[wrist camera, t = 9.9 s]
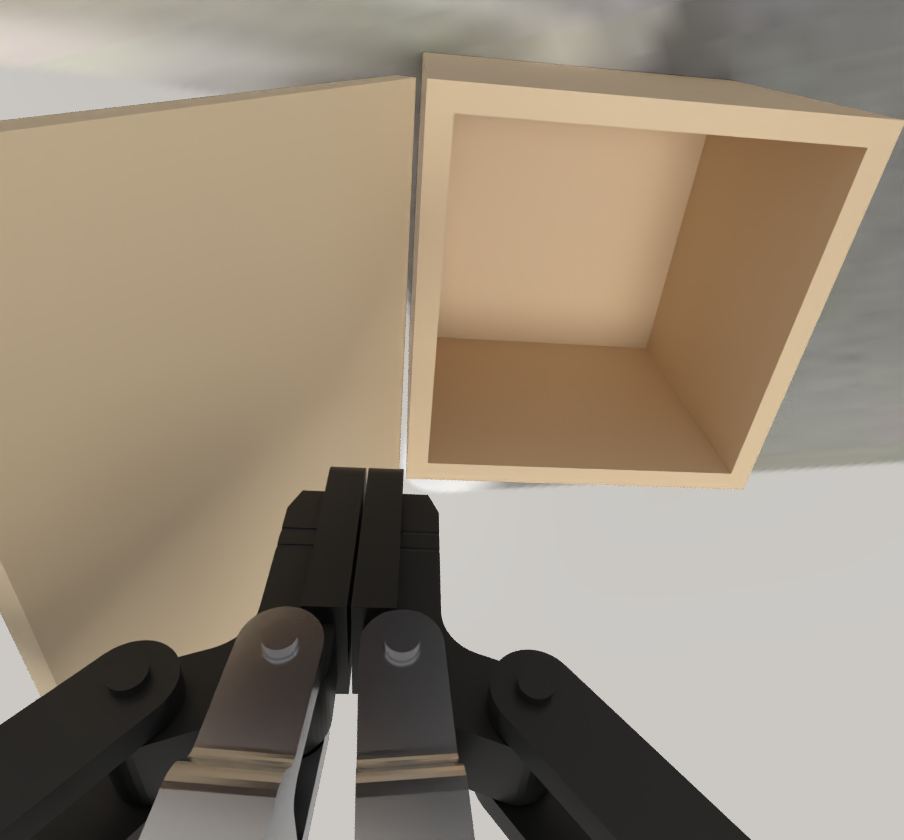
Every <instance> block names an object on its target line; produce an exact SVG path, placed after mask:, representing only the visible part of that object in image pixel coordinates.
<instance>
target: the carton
mask: <svg viewBox="0 0 904 840" xmlns="http://www.w3.org/2000/svg"><path fill="white" fill-rule="evenodd" d="M903 126H904V120H902V119H897V118H893V117H889V116H884V115H880V114H876V113H871V112H867V111H863V110H858V109H854V108H850V107H845V106H841V105H837V104H832V103H828V102H824V101H819V100H815V99H811V98H806V97H802V96H798V95H793V94H789V93H785V92H780V91H776V90H772V89H767V88H763V87H759V86H754V85H750V84H746V83H741V82H737V81H733V80H723V79H712V78H701V77H690V76H679V75H668V74H657V73H646V72H635V71H624V70H614V69H603V68H592V67H581V66H570V65H559V64H548V63H537V62H526V61H515V60H504V59H493V58H482V57H471V56H460V55H449V54H438V53H427V52H423V60H422V81H421V102H420V123H419V144H418V165H417V186H416V207H415V228H414V249H413V270H412V291H411V312H410V333H409V369H408V420H407V470H406V479H436V480H467V481H498V482H528V483H559V484H590V485H622V486H653V487H683V488H714V489H744V486H745V484H746V482H747V480H748V477H749V475H750V473H751V471H752V468H753V466H754V464H755V462H756V459H757V457H758V455H759V453H760V450H761V448H762V446H763V444H764V441H765V439H766V437H767V434H768V432H769V430H770V428H771V425H772V423H773V421H774V419H775V416H776V414H777V412H778V409H779V407H780V405H781V403H782V400H783V398H784V396H785V394H786V391H787V389H788V387H789V384H790V382H791V380H792V378H793V375H794V373H795V371H796V369H797V366H798V364H799V362H800V359H801V357H802V355H803V353H804V350H805V348H806V346H807V344H808V341H809V339H810V337H811V335H812V332H813V330H814V328H815V325H816V323H817V321H818V319H819V316H820V314H821V312H822V310H823V307H824V305H825V303H826V300H827V298H828V296H829V294H830V291H831V289H832V287H833V285H834V282H835V280H836V278H837V275H838V273H839V271H840V269H841V266H842V264H843V262H844V260H845V257H846V255H847V253H848V250H849V248H850V246H851V244H852V241H853V239H854V237H855V235H856V232H857V230H858V228H859V226H860V223H861V221H862V219H863V216H864V214H865V212H866V210H867V207H868V205H869V203H870V201H871V198H872V196H873V194H874V191H875V189H876V187H877V185H878V182H879V180H880V178H881V176H882V173H883V171H884V169H885V166H886V164H887V162H888V160H889V157H890V155H891V153H892V151H893V148H894V146H895V144H896V141H897V139H898V137H899V135H900V132H901V130H902V128H903Z"/></svg>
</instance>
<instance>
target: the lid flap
mask: <svg viewBox="0 0 904 840" xmlns="http://www.w3.org/2000/svg"><path fill="white" fill-rule="evenodd" d="M415 93H416V77H408V76H401V75H391V76H382V77H374V78H365V79H356V80H348V81H339V82H330V83H322V84H313V85H304V86H296V87H287V88H278V89H270V90H261V91H252V92H244V93H235V94H226V95H218V96H209V97H200V98H192V99H183V100H174V101H166V102H157V103H148V104H140V105H131V106H122V107H114V108H105V109H96V110H88V111H79V112H70V113H62V114H53V115H44V116H36V117H27V118H18V119H10V120H2V121H0V613H1V615H2V617H3V619H4V621H5V623H6V625H7V627H8V630H9V632H10V634H11V636H12V638H13V640H14V642H15V644H16V646H17V648H18V650H19V652H20V654H21V656H22V659H23V660H24V663H25V664H26V667H27V669H28V671H29V673H30V675H31V677H32V679H33V681H34V683H35V685H36V688H37V690H38V692H39V694H40V696H41V697H42V696H43V695H45V694H46V693H48V692H49V691H51V690H52V689H54V688H55V687H56V686H58V685H59V684H61V683H62V682H64V681H65V680H67V679H68V678H70V677H71V676H73V675H74V674H75V673H77V672H78V671H80V670H81V669H83V668H84V667H86V666H87V665H89V664H90V663H92V662H93V661H94V660H96V659H97V658H99V657H100V656H102V655H103V654H105V653H106V652H108V651H110V650H111V649H113V648H116V647H118V646H120V645H123V644H126V643H129V642H133V641H140V640H153V641H158V642H161V643H164V644H166V645H168V646H169V647H170V648H172V649H173V650H174V651H175V653H176V654H177V656H178V657H180V656H184V655H187V654H191V653H195V652H199V651H203V650H207V649H211V648H214V647H217V646H220V645H222V644H224V643H227V642H229V641H230V640H232V639H234V638H235V637H237V636H238V634H239V632H240V630H241V629H242V628H243V626H244V625H245V624H246V623H247V622H248V621H249V620H250V619H252V618H253V617H254V616H256V615H257V613H258V610H259V607H260V604H261V600H262V596H263V593H264V589H265V586H266V582H267V579H268V575H269V571H270V568H271V564H272V561H273V557H274V553H275V550H276V548H277V543H278V539H279V535H280V532H281V531H282V525H283V521H284V518H285V514H286V510H287V507H288V506H289V505H290V504H291V503H292V502H293V501H294V499H295V498H296V497H297V496H298V495H299V494H300V493H301V492H302V491H303V490H307V491H325V488H326V483H327V479H328V474H329V470H330V467H331V466H333V467H357V468H366V471H367V477H368V470H369V468H384V469H399V461H400V438H401V415H402V392H403V369H404V345H405V322H406V300H407V277H408V254H409V231H410V208H411V185H412V162H413V139H414V116H415Z"/></svg>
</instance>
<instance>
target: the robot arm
mask: <svg viewBox="0 0 904 840" xmlns="http://www.w3.org/2000/svg"><path fill="white" fill-rule="evenodd" d="M403 472H404V469H384V468H369V470H368V477H367V471H366V468H357V467H333V466H331V467H330V470H329V474H328V479H327V483H326V488H325V491H307V490H303V491H302V492H301V493H300V494H299V495H298V496H297V497H296V498H295V499H294V501H293V502H292V503H291V504H290V505H289V506H288V507H287V510H286V514H285V518H284V521H283V525H282V531H281V532H280V535H279V539H278V543H277V548H276V550H275V553H274V557H273V561H272V564H271V568H270V571H269V575H268V579H267V582H266V586H265V589H264V593H263V596H262V600H261V604H260V607H259V610H258V613H257V615H256V616H254V617H253V618H252V619H250V620H249V621H248V622H247V623H246V624H245V625H244V626H243V628H242V629H241V630H240V632H239V634H238V636H237V637H235V638H234V639H232V640H230V641H229V642H227V643H224V644H222V645H220V646H217V647H214V648H211V649H207V650H203V651H199V652H195V653H191V654H187V655H184V656H180V657H178V656H177V654H176V653H175V651H174V650H173V649H172V648H170V647H169V646H168V645H166V644H164V643H161V642H158V641H153V640H140V641H133V642H129V643H126V644H123V645H120V646H118V647H116V648H113V649H111V650H110V651H108V652H106V653H105V654H103V655H102V656H100V657H99V658H97V659H96V660H94V661H93V662H92V663H90V664H89V665H87V666H86V667H84V668H83V669H81V670H80V671H78V672H77V673H75V674H74V675H73V676H71V677H70V678H68V679H67V680H65V681H64V682H62V683H61V684H59V685H58V686H56V687H55V688H54V689H52V690H51V691H49V692H48V693H46V694H45V695H43V696H42V697H41V698H39V699H37V700H36V701H35V702H33V703H32V704H30V705H29V706H28V707H26V708H24V709H23V710H21V711H20V712H19V713H17V714H16V715H14V716H13V717H11V718H10V719H8V720H7V721H5V722H4V723H2V724H1V725H0V840H308V835H309V830H310V825H311V820H312V816H313V811H314V807H315V802H316V797H317V792H318V788H319V782H320V778H321V773H322V769H323V764H324V759H325V754H326V750H327V745H328V740H329V729H330V726H331V722H332V716H333V708H334V701H335V694H349V686H350V677H351V668H352V693H353V694H358V719H357V721H358V722H357V768H356V794H355V795H356V798H355V840H475V838H474V829H473V821H472V813H471V805H470V797H469V789H470V790H472V791H475V793H476V796H477V798H478V800H479V801H480V803H481V804H482V806H483V807H484V808H485V810H486V811H487V812H488V813H489V815H490V816H491V817H492V818H493V820H494V821H495V822H496V823H497V825H498V826H499V827H500V828H501V830H502V831H503V832H504V834H505V835H506V836H507V837H508V839H509V840H751V839H750V838H749V837H747V836H746V835H745V834H744V833H743V832H742V831H741V830H740V829H739V828H738V827H737V826H736V825H735V824H733V823H732V822H731V821H730V820H729V819H728V818H727V817H726V816H725V815H724V814H723V813H722V812H721V811H720V810H718V808H717V807H715V806H714V805H713V804H712V803H711V802H710V801H709V800H708V799H707V798H706V797H705V796H704V795H703V794H702V793H701V792H699V791H698V790H697V789H696V788H695V787H694V786H693V785H692V784H691V783H690V782H689V781H688V780H687V779H686V778H685V777H684V776H682V775H681V774H680V773H679V772H678V771H677V770H676V769H675V768H674V767H673V766H672V765H671V764H669V762H667V760H665V759H664V758H663V757H662V756H661V755H660V754H659V753H658V752H657V751H656V750H655V749H654V748H653V747H651V745H649V744H648V743H647V742H646V741H645V740H644V739H643V738H642V737H641V736H640V735H639V734H638V733H637V732H636V731H635V730H633V729H632V728H631V727H630V726H629V725H628V724H627V723H626V722H625V721H624V720H623V719H622V718H621V717H620V716H619V715H617V714H616V713H615V712H614V711H613V710H612V709H611V708H610V707H609V706H608V705H607V704H606V703H605V702H604V701H603V700H601V699H600V698H599V697H598V696H597V695H596V694H595V693H594V692H593V691H592V690H591V689H590V688H589V687H588V686H587V685H585V683H583V682H582V681H581V680H580V679H579V678H578V677H577V676H576V675H575V674H574V673H573V672H572V671H571V670H570V669H569V668H567V667H566V666H565V665H564V664H563V663H562V662H561V661H559V660H558V659H556V658H554V657H553V656H551V655H549V654H546V653H544V652H541V651H536V650H520V651H515V652H512V653H510V654H508V655H506V656H505V657H503V658H502V659H501V660H500V661H498V660H495V659H491V658H489V657H486V656H483V655H479V654H477V653H474V652H472V651H469V650H468V649H466V648H464V647H462V646H461V645H460V644H458V643H457V642H456V641H455V640H454V639H453V638H452V637H451V636H450V634H449V633H448V632H447V630H446V628H445V626H444V624H443V621H442V617H441V594H440V554H439V513H438V511H437V509H436V508H435V506H434V504H433V503H432V501H431V499H430V498H429V496H428V495H414V494H413V495H412V494H403Z"/></svg>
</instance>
